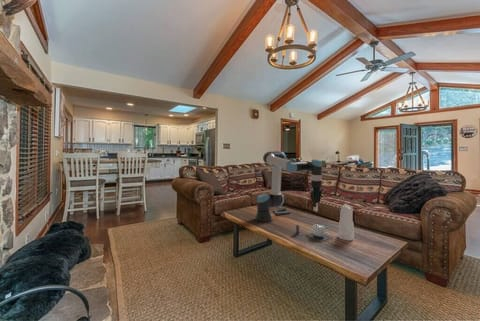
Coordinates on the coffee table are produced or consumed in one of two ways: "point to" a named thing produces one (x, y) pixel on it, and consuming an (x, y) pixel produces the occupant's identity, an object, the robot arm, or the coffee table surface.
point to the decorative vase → (346, 223)
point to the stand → (297, 231)
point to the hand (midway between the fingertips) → (315, 210)
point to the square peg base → (319, 237)
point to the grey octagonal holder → (319, 230)
